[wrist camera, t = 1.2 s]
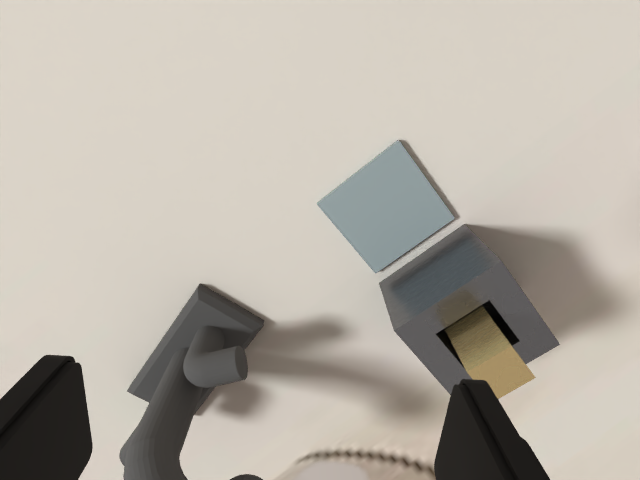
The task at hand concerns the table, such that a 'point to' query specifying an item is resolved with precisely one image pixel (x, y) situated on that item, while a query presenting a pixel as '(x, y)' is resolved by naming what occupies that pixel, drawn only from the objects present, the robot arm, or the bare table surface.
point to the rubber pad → (386, 207)
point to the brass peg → (488, 352)
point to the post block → (459, 304)
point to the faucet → (186, 381)
